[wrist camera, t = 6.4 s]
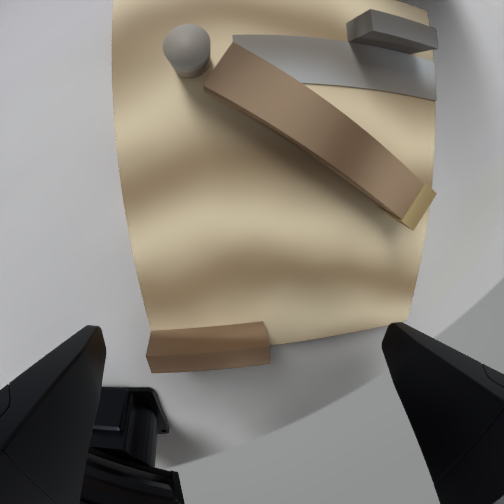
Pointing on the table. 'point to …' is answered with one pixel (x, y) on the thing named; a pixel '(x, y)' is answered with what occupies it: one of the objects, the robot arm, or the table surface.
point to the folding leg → (319, 132)
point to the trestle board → (265, 174)
